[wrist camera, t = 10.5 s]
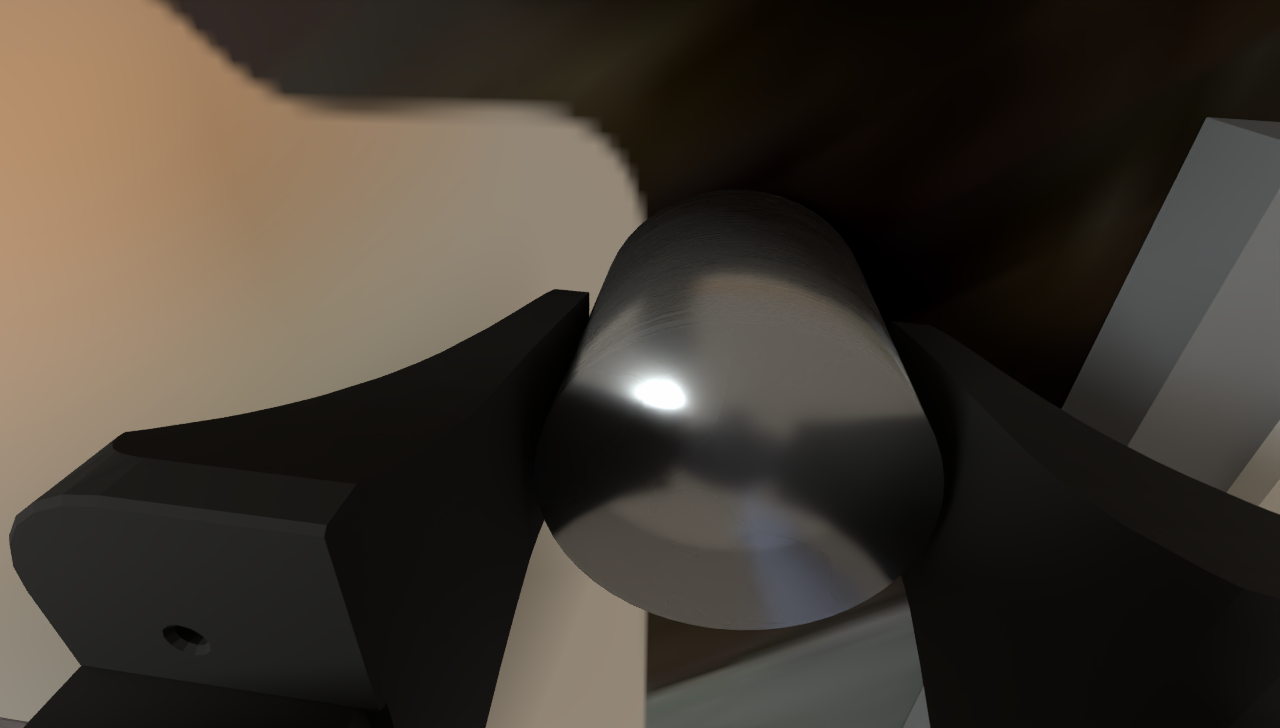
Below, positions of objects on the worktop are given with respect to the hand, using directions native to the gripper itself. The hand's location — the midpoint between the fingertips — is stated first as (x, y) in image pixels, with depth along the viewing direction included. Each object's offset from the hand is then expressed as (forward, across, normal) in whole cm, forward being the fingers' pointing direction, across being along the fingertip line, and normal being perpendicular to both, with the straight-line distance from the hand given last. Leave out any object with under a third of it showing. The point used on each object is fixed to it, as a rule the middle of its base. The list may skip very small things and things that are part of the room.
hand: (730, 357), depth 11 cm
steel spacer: (+1, 0, 0) cm, 1 cm away
